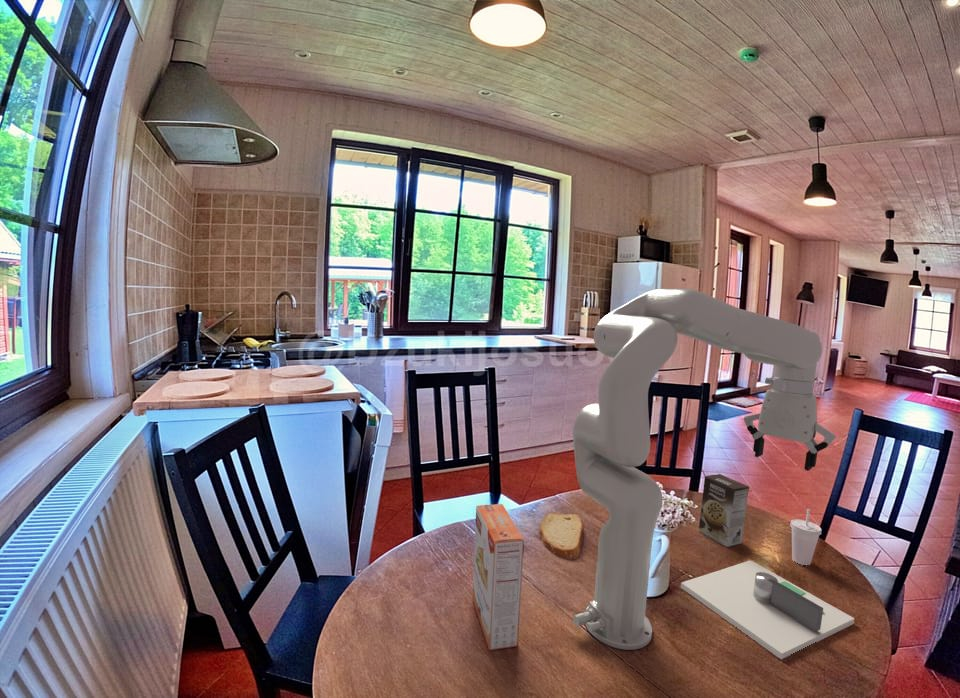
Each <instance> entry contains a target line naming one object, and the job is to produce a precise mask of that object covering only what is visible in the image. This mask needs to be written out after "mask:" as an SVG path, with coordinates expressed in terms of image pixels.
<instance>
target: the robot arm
mask: <svg viewBox="0 0 960 698" xmlns="http://www.w3.org/2000/svg"><path fill="white" fill-rule="evenodd" d="M678 334H679V335H682V336H686V337H688V338H691V339H693V340H696V341H700V342H702V343H704V344H707V345H709V346H712V347H714V348H717V349H720V350H723V351H724V350H726V351H729V352H733V353H738V354H743V355H744V356H745V357H746V358H747V359H749V360H750V361H753V362H755V363H759V364H766V365H771V366H774V367H773V373H772V375H773V376H771V377H766V378H765V380H764V382H765V384H766V385H769V386H770V388H769V389H766V392H765V394H764V398H763V400H762V404H761V409H760V412H758V413H754V414H752V415H747V416H744V417H743V421H744V423H745V426H746V429H747V431H748V432H749V433H750V434H751V436H752V439H754V440H753V448H752V449H753V450H752V452H754V457H755V458H759V457H761V456H763V455H764V448H765V447H764V446H765V441H766V440H765V438H764V436H765V435H766V436H771V437H774V438H777V439H778V438H779V439H783V440H788V441H791V442H795V443H800V444H801V443H804V445H805V446H806V448H807V449H808V451H807V452H806V454H805V463H804V470H805V471H810V470H811V469H813V468H815V467H816V465H817V460H818V459H817V458H818V452H820V451H823V450H824V449H826V448H827V447H829V446H830V445H831V444H832V443H833V442H834V441H835V439H836V438H837V436H836V434H834V433H833V432H831V431H829V430H828V429H826V428H825V426H822V425H820V424H819V423H818V403H817V402H818V401H817V396H816V395H814V387H815V380H816V374H817V373H816V372H817V365H818V362H819V361H820V359H821V358H822V354H823V345H822V342H821V337H820V334H818V333H817V332H815V331H811V330H809V329H807V328H805V327H802V326H800V325H797V324H795V323H793V322H788V321H785V320H781V319H778V318H774V317H770V316H766V315H763V314H760V313H757V312H754V311H749V310H746V309H742V308H738V307H736V306H734V305H731V304H729V303H728V302H726V301H723V300H721V299H718V298H716V297H713V296H712V295H708V294H706V293H704V292H702V291H700V290H696V289H692V288H656V289H652V290H650V291H647V292H644V293H643V294H640V295H638V296H637V297H635V298H633V299H632V300H630V301H628V302H627V303H625V304H623V305H621V306H619V307H618V308H616V309H613V310H612V311H611V312H608V314H606V315H604V316H603V317H602V318H601V319H600V320H599V321H598V323H597V324H596V326H595V328H594V331H593V342H594V345H595V348H596V349H597V350H598V351H599V352H600V353H601V354H602V355H605V356H606V357H608V358H609V357H610V358H613V359H612V360H611V361H610V362H609V364H608V365H607V366H606V368H605V369H604V372H603V374H602V375H601V377H600V380H599V383H598V392H597V394H598V402H593V403H589V404H587V405H585V406H584V407H583V408H581V409H580V411H579V412H578V414H577V415H576V417H575V419H574V423H573V427H572V439H573V452H574V461H575V471H576V477H577V481H578V485H579V488H580V489H581V491H582V492H583V494H585V495H586V496H588V497H589V498H590V499H592V500H593V501H594V502H595V503H597V504H599V505H600V506H601V507H603V509H605V510H606V511H607V512H608V514H609V515H608V518H607V520H606V522H605V523H604V524H603V526H602V527H601V528H600V532H599V535H598V545H597V547H598V548H597V560H596V561H597V562H596V570H595V571H596V573H595V584H594V585H595V586H594V593H593V594H594V595H593V596H594V597H593V600H591V601H590V602H589V605H588V606H587V607H586V609H585V610H584V612H580V613H577V614H574V615H573V616H572V621H573V624H574V626H575V627H581V626H584V625H585V627H586V629H587V630H588V632H589V633H590V634H591V635H592V636H593V637H594V638H595V639H597V641H600V642H601V643H603V644H605V645H607V646H609V647H612V648H614V649H615V648H616V649H619V650H623V651H624V650H627V651H628V650H629V651H631V650H632V651H633V650H638V649H639V650H640V649H642V648H645V647H646V646H647V645H649V643H650V642H651V640H652V637H653V627H652V623H651V621H650V620H649V618H648V617H647V616H646V607H647V598H648V590H649V589H648V586H649V578H650V570H651V569H650V568H651V559H652V558H651V555H652V547H653V546H652V545H653V540H654V539H653V537H654V533H655V529H656V525H657V521H658V518H659V515H660V513H661V510H662V506H663V494H662V490H661V487H660V486H659V484H658V483H657V482H656V481H655V480H654V479H653V478H652V477H651V476H649V475H648V474H646V473H645V472H643V471H642V470H639V469H638V468H636V467H640V466H642V465H643V464H644V463H645V462H646V461H647V459H648V458H649V456H650V455H649V454H650V449H651V434H650V433H651V431H650V418H649V415H650V414H649V388H650V385H651V383H652V381H653V379H654V377H656V376H655V375H656V374H657V373H658V372H659V371H660V369H661V368H662V367H663V366H664V365H665V364H666V362H668V360H669V359H670V358H671V357H672V356H673V354H674V352H675V350H676V347H677V344H678ZM757 420H758V424H757V427H756V426H755V425H754V421H757ZM817 433H818V434H819V435H820V436H822V437H824V439H823V441H821V442H820V443H817V441H816V440H815V437H816V434H817Z"/></svg>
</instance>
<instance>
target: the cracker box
mask: <svg viewBox="0 0 960 698" xmlns="http://www.w3.org/2000/svg"><path fill="white" fill-rule="evenodd" d="M475 511H476V512H475V528H474V530H475V533H474V550H473V551H474V552H473V553H474V554H473V578H472V579H473V580H472V602H473V605H474V608H475V612H476V614H477V616H478V617H477V618H478V620H479V623H480V626H481V630H482V633H483V636H484V639H485V641H486V642H485V643H486V646H487V649H488V651H494V650H501V649H502V650H503V649H508V648H516V647H519V638H520V624H521V623H520V621H521V620H520V619H521V604H522V603H521V601H522V585H523V568H524V554H525V553H524V552H525V551H524V550H525V539H524V537H523V535H522V534H521V532H520V530H519V529H518V527H517V526H516V524H515V522H514V521H513V519H512V518H511V516H510V514H509V512H508V511H507V509H506V507H505V506H504V503H498V504H497V503H496V504H495V503H494V504H482V505H476V507H475Z"/></svg>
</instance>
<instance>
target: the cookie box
mask: <svg viewBox="0 0 960 698" xmlns="http://www.w3.org/2000/svg"><path fill="white" fill-rule="evenodd" d="M749 490H750V486H748V485H746V484H744V483H742V482H739V481H736V480H734V479H732V478H730V477H728V476H726V475H723V474H720V473H718V474H710V475H706V476H704V481H703V489H702V499H701V505H700V515H699V522H698V523H699V525H698V532H700V533H702V534H703V535H705V536H706V537H708V538H709V539H712V540H714V542H715V541H716V542H717V543H718V544H721V545H722V546H724V547H725V548H729V547H731V546H732V547H733V546H735V545H740V544H742V543H743V542H742V541H743V533H744V528H745V527H744V526H745V520H746V519H745V518H746V514H747V513H746V511H747V506H748V505H747V504H748V500H749V499H748V498H749Z"/></svg>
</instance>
